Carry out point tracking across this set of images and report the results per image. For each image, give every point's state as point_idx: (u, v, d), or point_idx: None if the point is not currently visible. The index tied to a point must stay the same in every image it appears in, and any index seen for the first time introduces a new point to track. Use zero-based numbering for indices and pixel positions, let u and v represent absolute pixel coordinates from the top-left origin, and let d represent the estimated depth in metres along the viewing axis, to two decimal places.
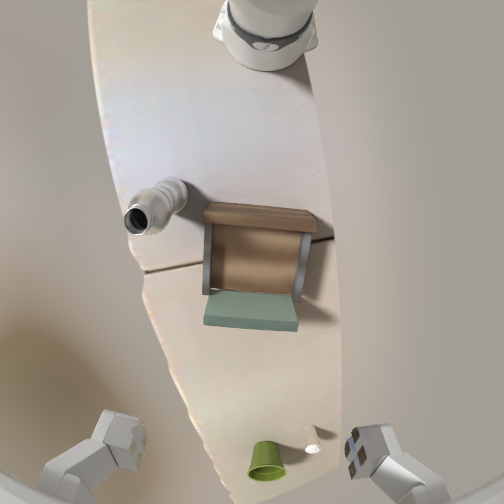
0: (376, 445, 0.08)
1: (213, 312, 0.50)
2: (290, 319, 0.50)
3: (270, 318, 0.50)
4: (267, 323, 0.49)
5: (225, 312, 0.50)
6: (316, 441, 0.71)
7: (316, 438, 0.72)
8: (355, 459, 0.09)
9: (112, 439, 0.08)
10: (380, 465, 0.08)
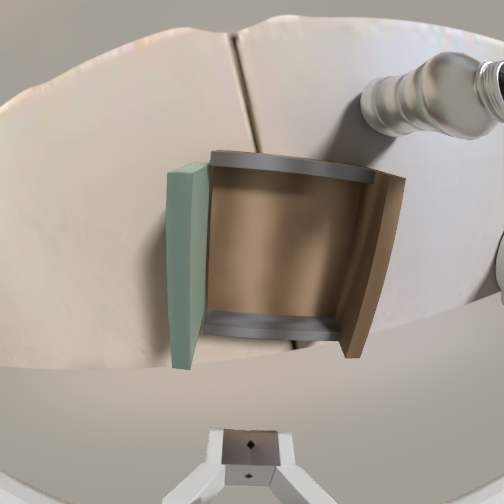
0: (266, 453, 0.08)
1: (194, 191, 0.20)
2: (192, 349, 0.24)
3: (191, 316, 0.23)
4: (186, 319, 0.22)
5: (194, 218, 0.21)
6: None
7: None
8: None
9: (230, 458, 0.08)
10: (273, 475, 0.08)
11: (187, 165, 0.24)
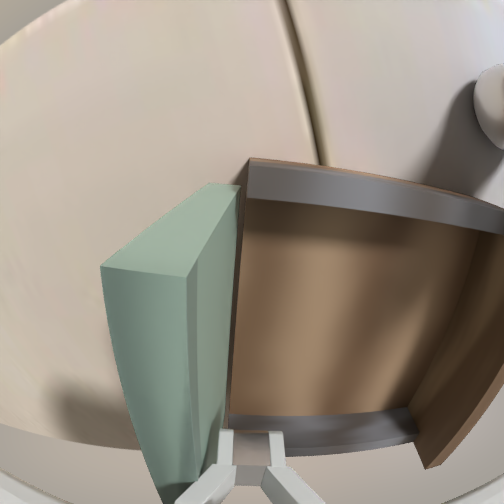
0: (257, 453, 0.08)
1: (205, 301, 0.07)
2: None
3: None
4: None
5: (206, 358, 0.08)
6: None
7: None
8: None
9: (241, 459, 0.08)
10: (264, 475, 0.08)
11: (189, 198, 0.10)
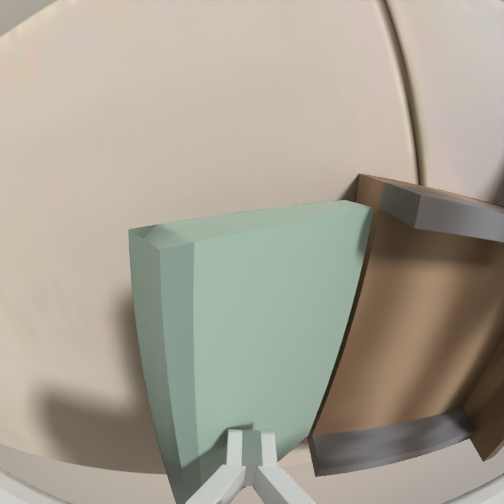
0: (248, 452, 0.08)
1: (226, 291, 0.07)
2: None
3: None
4: (183, 487, 0.09)
5: (232, 350, 0.08)
6: None
7: None
8: None
9: (250, 459, 0.08)
10: (255, 475, 0.08)
11: (294, 205, 0.11)
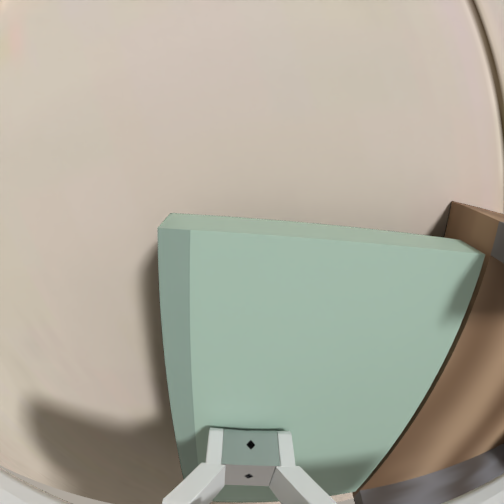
0: (266, 453, 0.08)
1: (228, 286, 0.08)
2: None
3: None
4: None
5: (237, 349, 0.08)
6: None
7: None
8: None
9: (230, 458, 0.08)
10: (273, 475, 0.08)
11: (372, 229, 0.09)
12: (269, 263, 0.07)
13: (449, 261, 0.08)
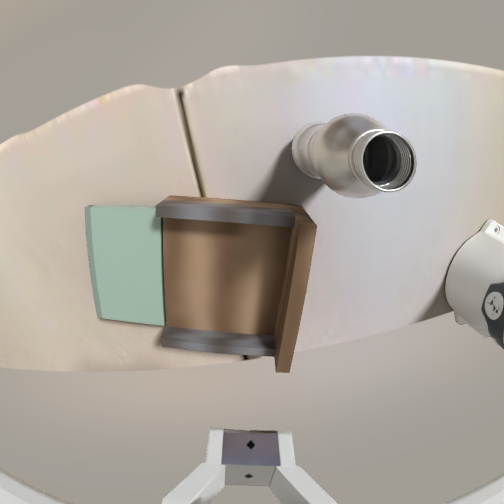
0: (266, 453, 0.08)
1: (97, 219, 0.33)
2: (104, 311, 0.38)
3: (101, 289, 0.36)
4: None
5: (101, 235, 0.34)
6: None
7: None
8: None
9: (230, 458, 0.08)
10: (273, 475, 0.08)
11: (132, 206, 0.34)
12: (104, 214, 0.33)
13: (146, 212, 0.33)
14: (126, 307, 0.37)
